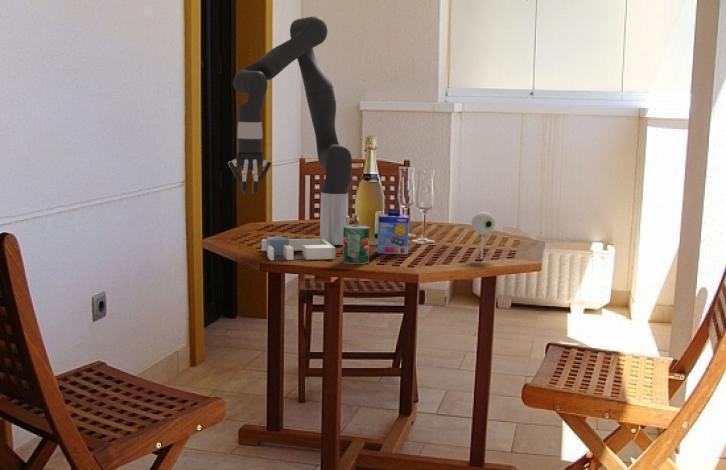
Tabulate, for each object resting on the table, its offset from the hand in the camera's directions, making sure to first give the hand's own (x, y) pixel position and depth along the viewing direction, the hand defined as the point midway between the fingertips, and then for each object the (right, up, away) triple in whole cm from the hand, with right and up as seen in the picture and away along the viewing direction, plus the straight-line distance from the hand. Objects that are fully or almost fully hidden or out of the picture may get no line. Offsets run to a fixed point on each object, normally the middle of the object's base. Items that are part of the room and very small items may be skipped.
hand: (249, 193), depth 284 cm
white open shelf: (+15, -19, +4) cm, 24 cm away
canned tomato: (+33, -21, -6) cm, 39 cm away
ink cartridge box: (+44, -19, +13) cm, 50 cm away
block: (+8, -19, +5) cm, 21 cm away
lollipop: (+72, -21, +5) cm, 75 cm away
